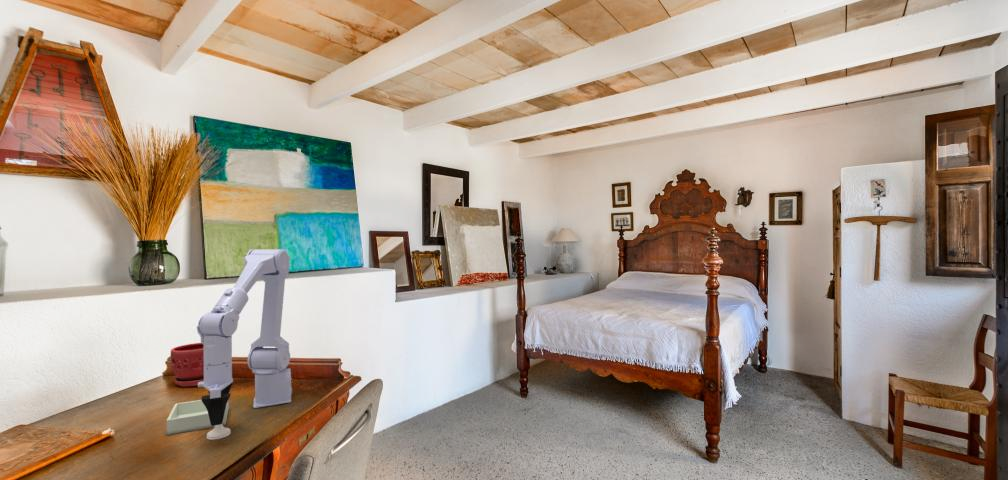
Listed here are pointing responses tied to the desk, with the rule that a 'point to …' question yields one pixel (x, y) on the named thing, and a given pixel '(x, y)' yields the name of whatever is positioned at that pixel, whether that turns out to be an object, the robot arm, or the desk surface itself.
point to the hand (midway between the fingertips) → (218, 418)
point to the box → (190, 417)
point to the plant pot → (188, 364)
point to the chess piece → (218, 432)
